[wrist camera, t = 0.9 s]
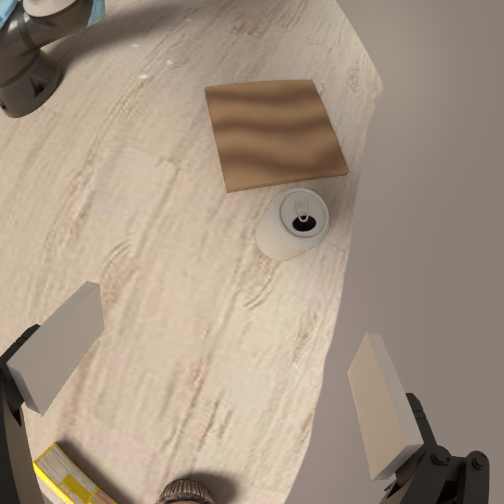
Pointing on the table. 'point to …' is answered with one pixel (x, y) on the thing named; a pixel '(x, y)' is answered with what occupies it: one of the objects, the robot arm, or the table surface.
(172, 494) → the cupcake
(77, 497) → the candy box
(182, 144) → the table surface
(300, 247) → the can
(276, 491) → the table surface
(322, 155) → the walnut board
